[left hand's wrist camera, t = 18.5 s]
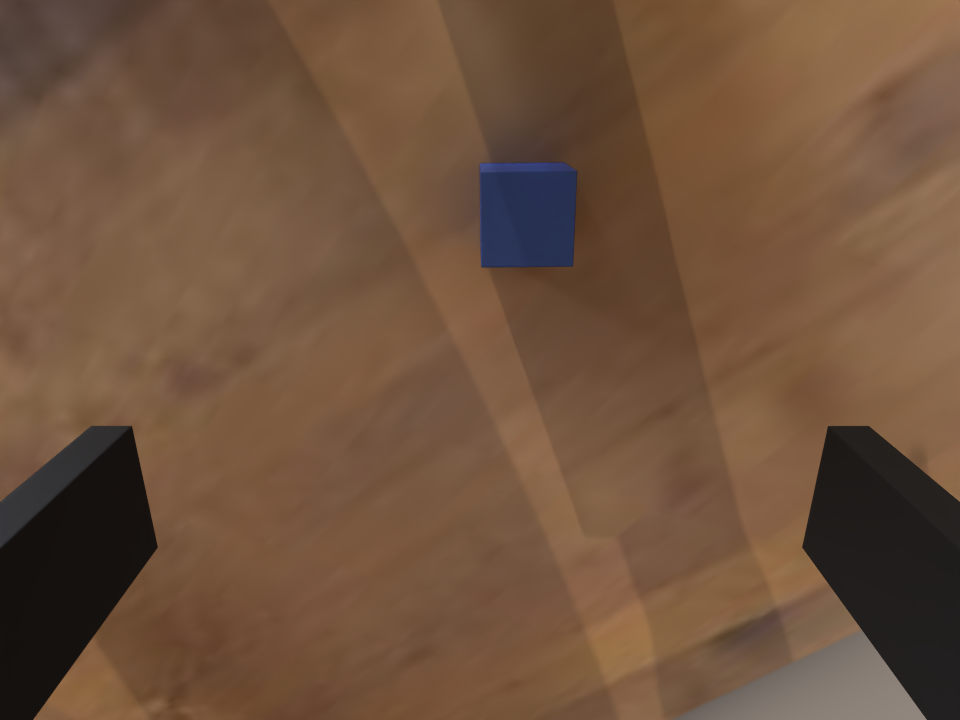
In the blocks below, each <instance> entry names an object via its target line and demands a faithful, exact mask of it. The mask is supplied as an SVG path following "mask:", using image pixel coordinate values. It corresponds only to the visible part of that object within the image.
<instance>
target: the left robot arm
mask: <svg viewBox="0 0 960 720" xmlns="http://www.w3.org/2000/svg"><path fill="white" fill-rule="evenodd" d="M157 548H158V546H157V542H156V537H155V532H154V528H153V523H152V518H151V514H150V509H149V504H148V499H147V495H146V490H145V485H144V481H143V476H142V471H141V467H140V462H139V457H138V452H137V448H136V443H135V438H134V434H133V429H132V426H91V427H90V428H88V429H87V430H86V431H85V432H84V433H82V434H81V435H80V436H79V437H78V438H76V439H75V440H74V441H73V442H72V443H70V444H69V445H68V446H67V447H66V448H64V449H63V450H62V451H61V452H60V453H58V454H57V455H56V456H55V457H54V458H52V459H51V460H50V461H49V462H48V463H46V464H45V465H44V466H43V467H42V468H40V469H39V470H38V471H37V472H36V473H34V474H33V475H32V476H31V477H30V478H28V479H27V480H26V481H25V482H24V483H22V484H21V485H20V486H19V487H18V488H16V489H15V490H14V491H13V492H12V493H10V494H9V495H8V496H7V497H6V498H4V499H3V500H2V501H1V502H0V720H33V719H34V718H35V716H36V715H37V714H38V712H39V711H40V709H41V708H42V707H43V705H44V704H45V703H46V701H47V700H48V698H49V697H50V696H51V694H52V693H53V691H54V690H55V689H56V687H57V686H58V685H59V683H60V682H61V680H62V679H63V678H64V676H65V675H66V673H67V672H68V671H69V669H70V668H71V667H72V665H73V664H74V662H75V661H76V660H77V658H78V657H79V655H80V654H81V653H82V651H83V650H84V649H85V647H86V646H87V644H88V643H89V642H90V640H91V639H92V638H93V636H94V635H95V633H96V632H97V631H98V629H99V628H100V626H101V625H102V624H103V622H104V621H105V620H106V618H107V617H108V615H109V614H110V613H111V611H112V610H113V608H114V607H115V606H116V604H117V603H118V602H119V600H120V599H121V597H122V596H123V595H124V593H125V592H126V591H127V589H128V588H129V586H130V585H131V584H132V582H133V581H134V579H135V578H136V577H137V575H138V574H139V573H140V571H141V570H142V568H143V567H144V566H145V564H146V563H147V561H148V560H149V559H150V557H151V556H152V555H153V553H154V552H155V550H156V549H157ZM802 548H803V549H804V550H805V552H806V553H807V555H808V556H809V557H810V559H811V560H812V561H813V563H814V564H815V566H816V567H817V568H818V570H819V571H820V573H821V574H822V575H823V577H824V578H825V579H826V581H827V582H828V584H829V585H830V586H831V588H832V589H833V591H834V592H835V593H836V595H837V596H838V597H839V599H840V600H841V602H842V603H843V604H844V606H845V607H846V608H847V610H848V611H849V613H850V614H851V615H852V617H853V618H854V620H855V621H856V622H857V624H858V625H859V626H860V628H861V629H862V631H863V632H864V633H865V635H866V636H867V638H868V639H869V640H870V642H871V643H872V644H873V646H874V647H875V649H876V650H877V651H878V653H879V654H880V655H881V657H882V658H883V660H884V661H885V662H886V664H887V665H888V666H889V668H890V669H891V671H892V672H893V673H894V675H895V676H896V677H897V679H898V680H899V682H900V683H901V685H902V686H903V687H904V689H905V690H906V691H907V693H908V694H909V695H910V697H911V698H912V700H913V701H914V702H915V704H916V705H917V707H918V708H919V709H920V711H921V712H922V714H923V715H924V716H925V718H926V719H927V720H960V502H959V501H958V500H957V499H956V498H954V497H953V496H952V495H951V494H950V493H948V492H947V491H946V490H945V489H944V488H942V487H941V486H940V485H939V484H938V483H936V482H935V481H934V480H933V479H932V478H930V477H929V476H928V475H927V474H926V473H924V472H923V471H922V470H921V469H920V468H918V467H917V466H916V465H915V464H914V463H912V462H911V461H910V460H909V459H908V458H906V457H905V456H904V455H903V454H902V453H900V452H899V451H898V450H897V449H896V448H894V447H893V446H892V445H891V444H890V443H888V442H887V441H886V440H885V439H884V438H882V437H881V436H880V435H879V434H878V433H876V432H875V431H874V430H873V429H872V428H870V427H869V426H828V429H827V434H826V438H825V443H824V448H823V452H822V457H821V462H820V467H819V471H818V476H817V481H816V485H815V490H814V495H813V499H812V504H811V509H810V514H809V518H808V523H807V528H806V532H805V537H804V542H803V546H802Z"/></svg>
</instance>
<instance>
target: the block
mask: <svg viewBox="0 0 960 720" xmlns="http://www.w3.org/2000/svg"><path fill="white" fill-rule="evenodd" d="M576 185H577V171H576V170H575V169H573V168H572V167H570V166H569V165H567V164H566V163H481V164H480V243H481V267H572V266H573V254H574V231H575V208H576Z"/></svg>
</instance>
